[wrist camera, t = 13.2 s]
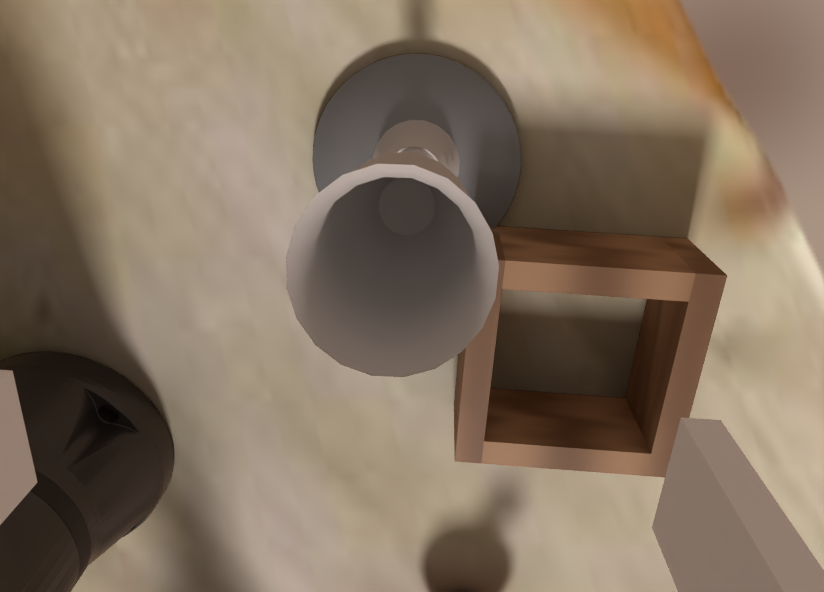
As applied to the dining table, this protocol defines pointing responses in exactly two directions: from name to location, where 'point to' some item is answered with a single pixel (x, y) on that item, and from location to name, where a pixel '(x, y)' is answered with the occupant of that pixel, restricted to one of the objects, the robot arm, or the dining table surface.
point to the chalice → (394, 259)
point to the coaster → (433, 102)
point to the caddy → (651, 372)
